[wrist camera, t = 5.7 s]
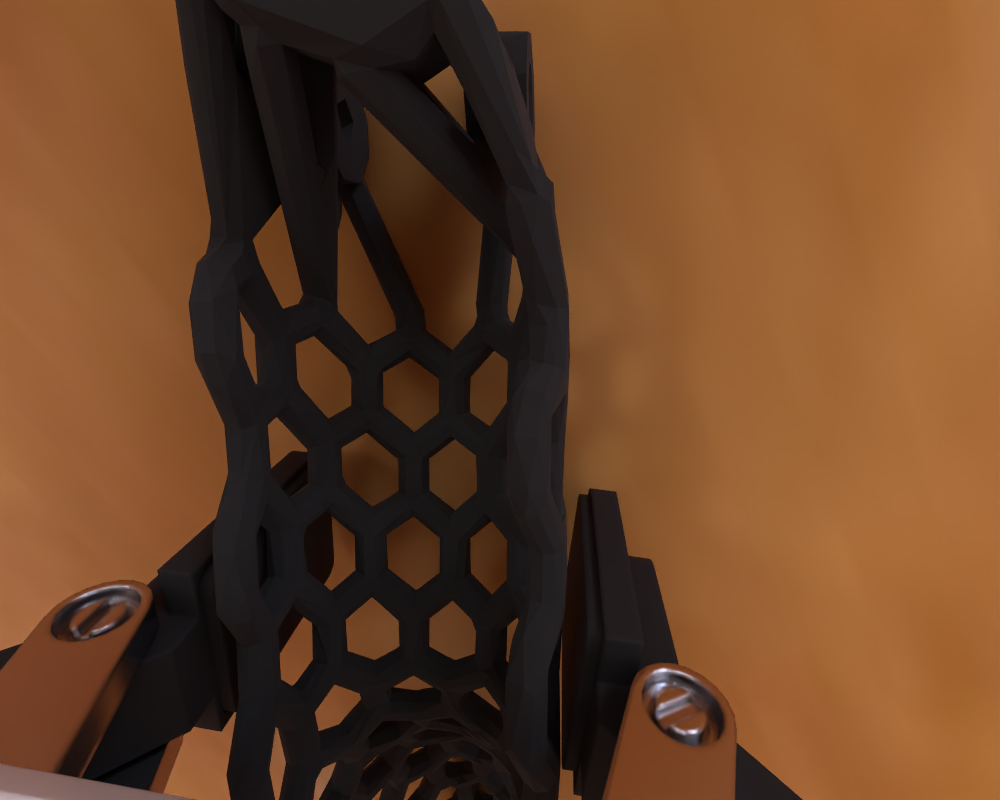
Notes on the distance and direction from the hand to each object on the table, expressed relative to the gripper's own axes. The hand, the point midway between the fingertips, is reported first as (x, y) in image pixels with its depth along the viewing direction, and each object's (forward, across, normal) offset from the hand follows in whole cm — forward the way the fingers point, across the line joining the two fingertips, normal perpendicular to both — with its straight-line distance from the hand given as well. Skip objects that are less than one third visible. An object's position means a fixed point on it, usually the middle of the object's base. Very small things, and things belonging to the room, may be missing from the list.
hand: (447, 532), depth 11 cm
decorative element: (+1, 0, 0) cm, 1 cm away
